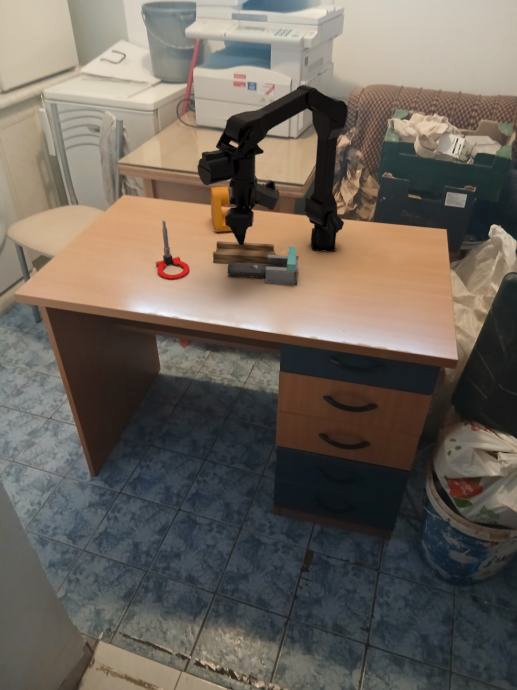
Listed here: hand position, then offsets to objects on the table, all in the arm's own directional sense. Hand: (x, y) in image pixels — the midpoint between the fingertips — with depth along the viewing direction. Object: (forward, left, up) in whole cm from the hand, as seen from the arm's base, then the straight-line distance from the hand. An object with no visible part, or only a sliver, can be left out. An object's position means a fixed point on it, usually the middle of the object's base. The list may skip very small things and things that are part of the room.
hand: (243, 236), depth 127 cm
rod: (-3, 0, -11) cm, 12 cm away
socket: (-10, 0, -11) cm, 15 cm away
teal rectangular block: (-12, 0, -7) cm, 14 cm away
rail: (+1, -9, -11) cm, 14 cm away
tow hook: (+19, 0, -11) cm, 22 cm away
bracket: (+9, -28, -11) cm, 32 cm away
